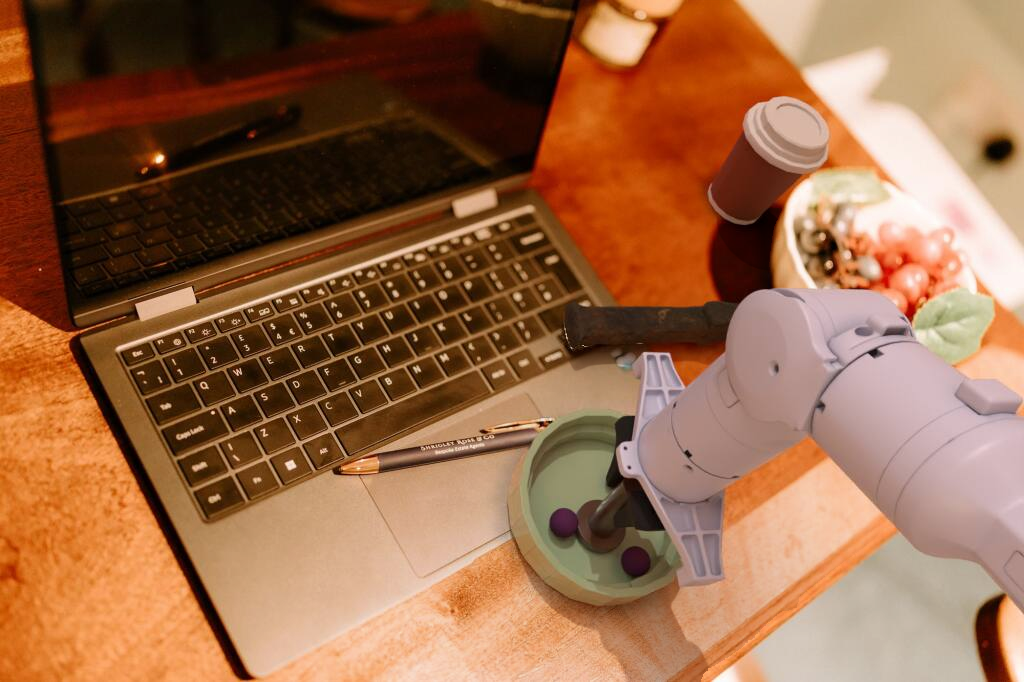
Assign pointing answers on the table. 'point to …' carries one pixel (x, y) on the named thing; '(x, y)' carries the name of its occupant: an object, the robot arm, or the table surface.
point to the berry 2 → (635, 561)
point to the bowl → (569, 484)
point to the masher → (604, 518)
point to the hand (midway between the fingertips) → (622, 501)
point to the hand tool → (647, 324)
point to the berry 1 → (563, 522)
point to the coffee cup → (769, 158)
